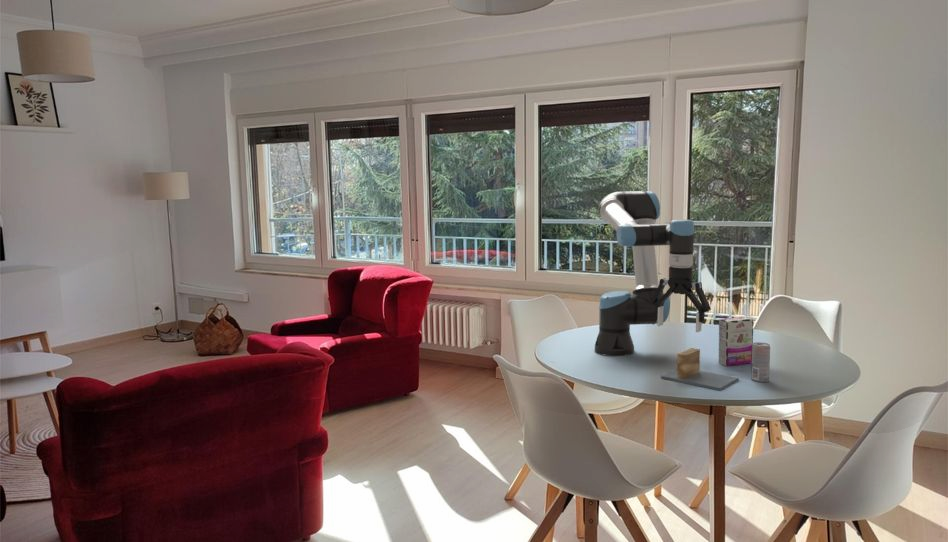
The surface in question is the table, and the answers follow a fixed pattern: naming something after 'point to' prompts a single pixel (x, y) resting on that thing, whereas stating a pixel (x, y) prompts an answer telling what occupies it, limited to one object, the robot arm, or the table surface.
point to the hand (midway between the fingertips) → (678, 328)
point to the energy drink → (760, 362)
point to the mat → (704, 379)
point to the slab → (688, 363)
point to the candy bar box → (735, 341)
